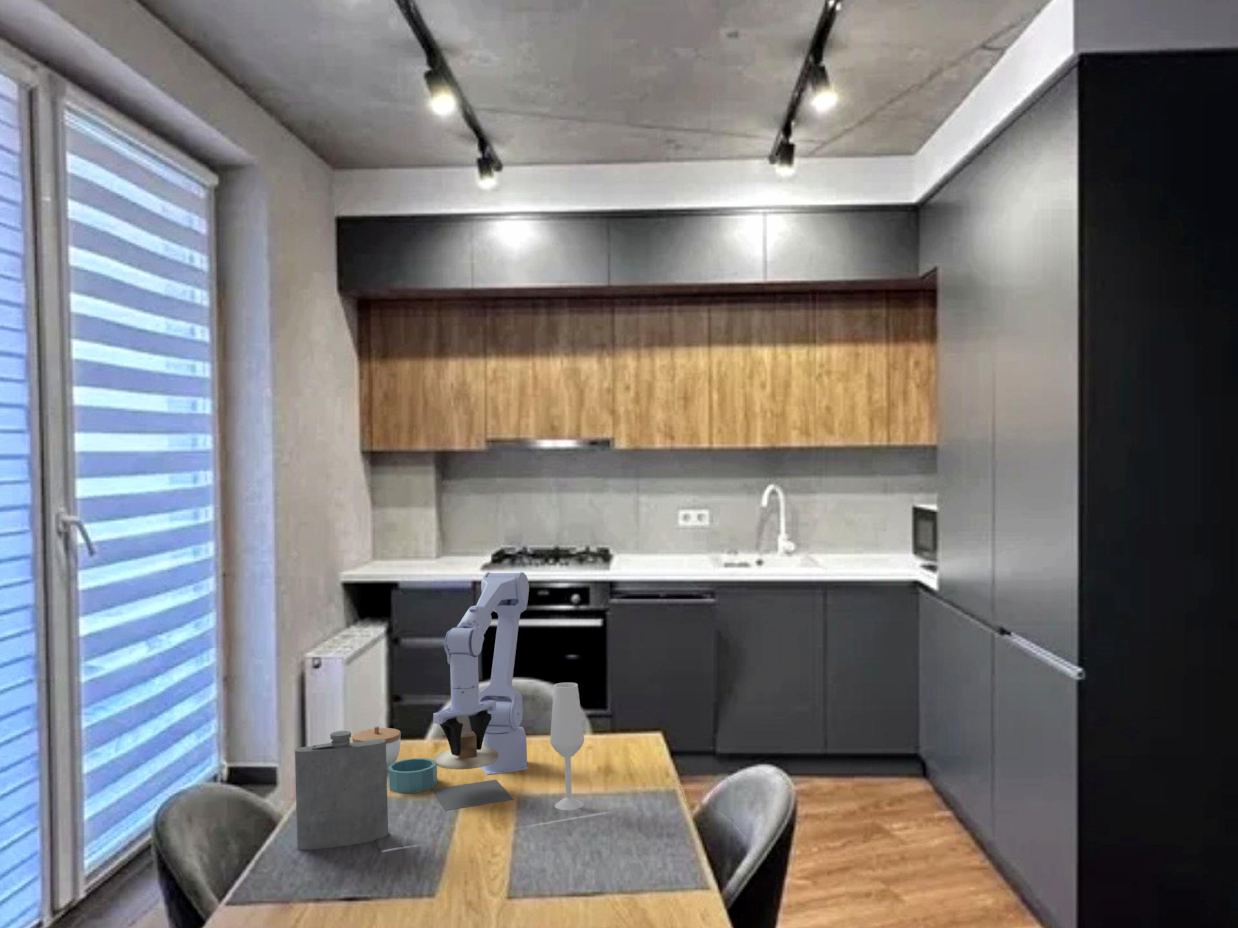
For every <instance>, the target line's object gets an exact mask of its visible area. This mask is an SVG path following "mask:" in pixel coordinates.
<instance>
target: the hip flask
mask: <svg viewBox="0 0 1238 928" xmlns="http://www.w3.org/2000/svg"><path fill="white" fill-rule="evenodd" d="M329 734H330V740H331V742H328V743H321V744H315V745H314V744H313V745H312V746H311V745H310V746H302V747H298V748H295V749H294V761H295V762H294V764H295V765H294V766H295V769H294V771H295V808H296V813H295V814H296V846H297V849H298V850H300V851H308V850H319V849H320V850H321V849H322V848H323V849H331V848H332V849H333V848H339V847H340V846H341V847H347V846H354V845H360V844H367V843H372V842H377V839H382V838H385V837H387V836H388V835H389V817H388V816H389V812H388V811H389V810H388V807H389V806H388V770H387V766H386V740H384V739H376V740H369V741H362V742H355V743H353V742H351V741H350V740H351V739H350V738H352V732H351V731H350V730H337V731H334V732H331V733H329Z"/></svg>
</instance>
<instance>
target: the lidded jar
mask: <svg viewBox="0 0 1238 928" xmlns="http://www.w3.org/2000/svg"><path fill="white" fill-rule="evenodd" d="M401 736H402V731H400V730H399V729H397V728H391V727H379V725H377V726H374V727H373V728H370V729H365V730H361V731H359V732H356V733H354V734H353V735H352V736H351V738H352V743H355V742H362V741H369V740H376V739H384V740H386V766H387V767H388V766H389V765H390V764H392V763H394V762H397V761H398V760H397V759H398V757H399V755H400V751H401ZM387 771H388V768H387Z"/></svg>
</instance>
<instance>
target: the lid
mask: <svg viewBox="0 0 1238 928" xmlns="http://www.w3.org/2000/svg"><path fill="white" fill-rule="evenodd" d="M460 742H461V751H460V755H459V756H455V755H452V754H451V749H450V748H449V749H447V750H444V751H442V752H439V753H438V754H436V755H435V756H434V761H435V764H436V765H437V767H438V768H443V769H447V770H471V769H478V768H480V767H483V766H487V765H490V764H492V763H494V762H496V761H497V760H498V752H497V751H496V750H494V749H491V748H486V747H483V746H482V747H481V750H477V742H476V734H475V733H474V732H473V731H464V732H463V731H462V732H461V740H460Z"/></svg>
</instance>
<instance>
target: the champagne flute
mask: <svg viewBox="0 0 1238 928" xmlns="http://www.w3.org/2000/svg"><path fill="white" fill-rule="evenodd" d="M552 693H553V694H552V708H551V709H552V710H551V721H550V723H551V725H550V737H549V738H550V740H549V741H550V745H551V747H552V748H553V749H554V751H555V752H556V753H558V754H559V755H560V757H562V758H564V776H565V777H564V778H565V781H564V783H565V797H564V798H562V799H560V800H559V801H557V802H556V803H555V804H554V808H555V809H558V810H561V811H573V810H578V809H580V808H582V807H583V806H584V803H583V802H582V801H580V800H579V799H577V798H575V797H573V796H572V795H573V793H572V789H573V788H572V760H571V759H572V757H574V756H575V755H576V754H577V753H578V752H579V751H580V750H581V748H582V747H583V746H584V742H585V736H584V728H583V727H584V726H583V717H582V711H581V703H580V702H581V701H580V692H579V685H578V683H576V682H559V683H555V684H553V692H552Z"/></svg>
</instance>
